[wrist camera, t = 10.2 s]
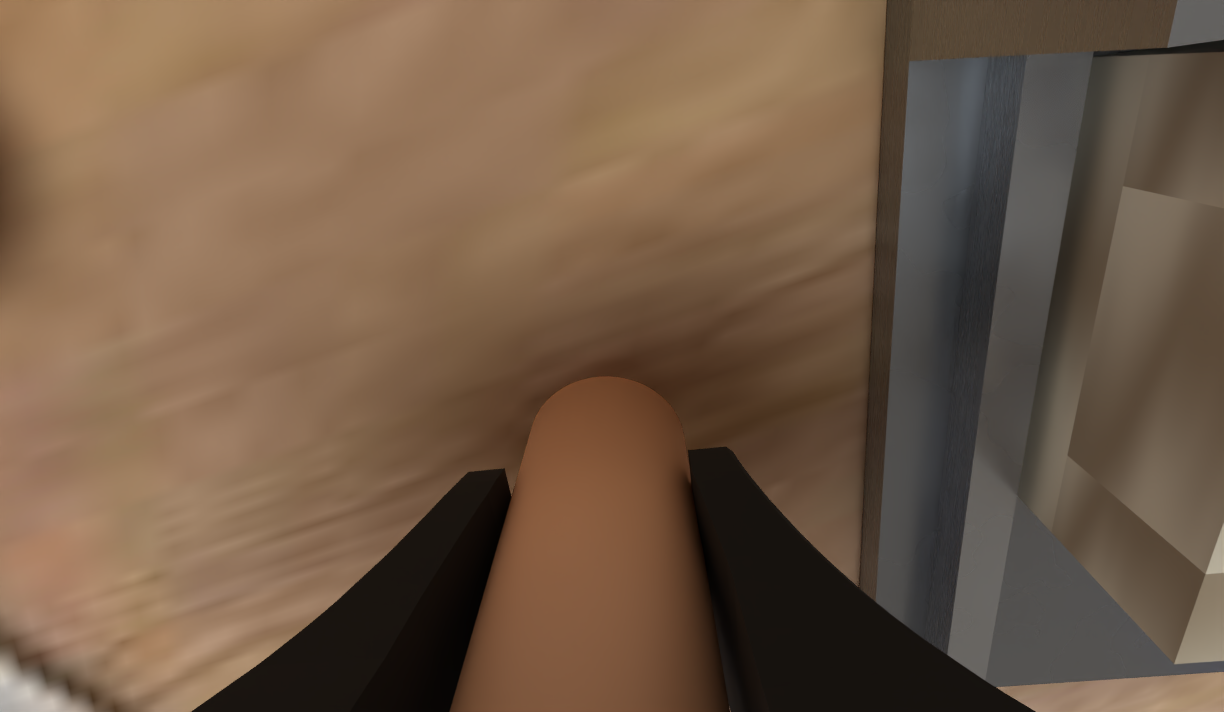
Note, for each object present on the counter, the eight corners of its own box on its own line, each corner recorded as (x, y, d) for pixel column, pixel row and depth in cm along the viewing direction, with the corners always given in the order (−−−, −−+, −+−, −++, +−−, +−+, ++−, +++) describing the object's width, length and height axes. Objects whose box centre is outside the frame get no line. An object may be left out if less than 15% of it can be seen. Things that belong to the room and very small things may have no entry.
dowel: (695, 498, 12) (769, 938, 6) (550, 520, 13) (469, 963, 6) (671, 363, 11) (731, 727, 5) (512, 391, 11) (365, 769, 5)
